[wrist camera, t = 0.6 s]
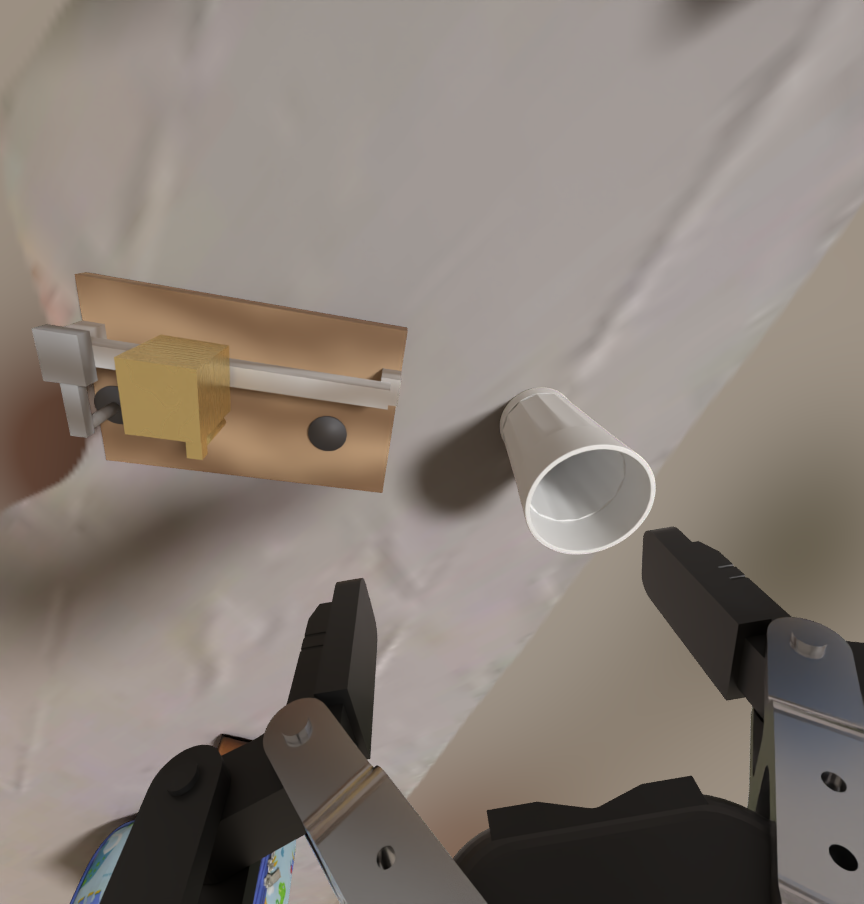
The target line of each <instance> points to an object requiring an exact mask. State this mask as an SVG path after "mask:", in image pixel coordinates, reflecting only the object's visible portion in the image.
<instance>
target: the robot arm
mask: <svg viewBox="0 0 864 904" xmlns="http://www.w3.org/2000/svg"><path fill="white" fill-rule="evenodd" d="M643 537H644V538H643V556H642V581H643V585H644V588H645V590H646V593H647V595H648V596H649V598H650V599H651V601H652V602H653V603H654V605H655V606H656V607H657V609H658V610H659V611H660V613H661V614H662V615H663V617H664V618H665V619H666V620H667V622H668V623H669V625H670V626H671V627H672V629H673V630H674V631H675V633H676V634H677V635H678V637H679V638H680V639H681V641H682V642H683V643H684V645H685V646H686V647H687V649H688V650H689V651H690V653H691V654H692V655H693V656H694V658H695V659H696V661H697V662H698V663H699V665H700V666H701V667H702V669H703V670H704V671H705V673H706V674H707V675H708V677H709V678H710V679H711V681H712V682H713V683H714V685H715V686H716V687H717V689H718V690H719V691H720V692H721V694H722V695H723V697H724V698H725V699H726V700H732V699H738V698H744V697H746V699H747V700H748V701H749V702H750V703H751V705H752V711H751V726H750V728H751V729H750V777H749V797H748V806H747V808H745V807H743V806H741V805H739V804H736V803H734V802H731V801H728V800H725V799H722V798H718V797H713V796H710V795H703V794H702V793H701V791H700V789H699V787H698V785H697V784H696V782H695V780H694V778H693V777H692V776H687V777H681V778H675V779H669V780H664V781H657V782H651V783H646V784H641V785H639V786H637V787H635V788H633V789H632V790H630V791H628V792H626V793H624V794H622V795H620V796H618V797H617V798H615V799H613V800H611V801H609V802H607V803H605V804H604V805H602V806H600V807H597V808H583V807H575V806H567V805H558V804H551V803H543V802H533V803H527V804H521V805H516V806H509V807H503V808H498V809H492V810H487V815H488V821H489V827H490V828H489V829H487V830H485V831H483V832H481V833H480V834H478V835H477V836H475V837H474V838H473V839H471V840H470V841H469V842H468V843H467V844H466V845H464V847H462V849H460V850H459V851H458V853H457V854H456V855H455V856H454V858H453V859H452V857H451V856H450V855H449V853H448V852H447V851H446V850H445V848H444V847H443V846H442V844H441V843H440V842H439V841H438V839H437V838H436V837H435V836H434V834H433V833H432V832H431V830H430V829H429V828H428V826H427V825H426V824H425V823H424V821H423V820H422V819H421V817H420V816H419V815H418V813H417V812H416V811H415V810H414V808H413V807H412V806H411V805H410V803H409V802H408V801H407V799H406V798H405V797H404V795H403V794H402V793H401V792H400V790H399V789H398V788H397V786H396V785H395V784H394V783H393V781H392V780H391V779H390V777H389V776H388V775H387V774H386V773H385V771H384V770H383V769H382V768H381V767H379V766H375V767H373V766H372V765H371V764H370V763H369V762H368V760H367V759H370V754H371V737H372V721H373V704H374V688H375V671H376V654H377V628H376V622H375V617H374V613H373V610H372V606H371V602H370V598H369V595H368V591H367V587H366V584H365V581H364V579H363V578H359V579H353V580H347V581H341V582H337V583H336V585H335V590H334V595H333V600H332V602H329V603H323V604H319V606H318V607H317V608H316V610H315V611H314V612H313V614H312V615H311V617H310V618H309V620H308V624H307V628H306V632H305V638H304V639H303V643H302V647H301V652H300V655H299V659H298V663H297V666H296V670H295V674H294V678H293V682H292V686H291V690H290V694H289V698H288V701H287V704H286V706H284V707H283V708H282V709H281V710H279V711H278V712H277V713H276V714H275V715H274V717H273V718H272V719H271V720H270V722H269V724H268V725H267V728H266V730H265V733H264V734H262V735H261V736H260V737H258V738H256V739H254V740H253V741H251V742H249V743H246V744H244V745H242V746H240V747H238V748H236V749H234V750H232V751H230V752H228V753H226V754H224V755H221V754H220V752H219V751H218V750H217V749H216V748H215V747H213V746H210V745H198V746H194V747H191V748H189V749H186V750H184V751H183V752H181V753H179V754H178V755H176V756H175V757H174V758H172V759H171V760H170V761H169V762H168V763H167V764H166V765H165V766H164V767H163V768H162V769H161V770H160V771H159V772H158V774H157V775H156V776H155V778H154V779H153V781H152V783H151V785H150V787H149V789H148V791H147V793H146V796H145V798H144V800H143V803H142V805H141V807H140V810H139V812H138V814H137V817H136V819H135V821H134V824H133V826H132V828H131V831H130V833H129V835H128V838H127V840H126V842H125V845H124V847H123V849H122V852H121V854H120V856H119V859H118V861H117V863H116V866H115V868H114V870H113V873H112V875H111V877H110V880H109V882H108V884H107V887H106V889H105V891H104V894H103V896H102V898H101V901H100V903H99V904H253V901H254V895H255V890H256V884H257V879H258V874H259V868H260V863H261V859H262V858H264V857H266V856H267V855H269V854H271V853H273V852H274V851H276V850H278V849H280V848H282V847H283V846H285V845H287V844H289V843H290V842H292V841H294V840H296V839H298V838H299V837H301V836H303V835H305V837H306V839H307V841H308V843H309V845H310V847H311V849H312V851H313V853H314V855H315V856H316V858H317V860H318V862H319V864H320V866H321V868H322V870H323V872H324V874H325V876H326V878H327V879H328V881H329V883H330V885H331V887H332V889H333V891H334V893H335V895H336V897H337V899H338V900H339V902H340V904H864V643H859V642H849V641H845V640H844V639H843V638H842V637H841V636H840V635H839V634H837V633H836V632H834V631H833V630H831V629H829V628H828V627H826V626H824V625H822V624H819V623H817V622H814V621H811V620H807V619H803V618H796V617H791V616H790V615H789V614H788V613H787V612H786V611H784V610H783V609H782V608H781V607H780V606H779V605H778V604H776V603H775V602H774V601H773V600H772V599H771V598H770V597H769V596H768V595H767V594H766V593H764V592H763V591H762V590H761V589H760V588H759V587H758V586H757V585H756V584H754V583H753V582H752V581H751V580H750V579H749V578H746V577H745V575H744V574H743V573H742V572H741V571H740V570H739V569H737V567H734V566H733V564H732V563H731V562H730V561H729V560H728V559H727V558H725V557H724V556H723V555H722V554H721V553H720V552H719V551H717V550H715V549H713V548H711V547H709V546H707V545H705V544H703V543H701V542H699V541H697V542H691V541H690V540H689V539H688V538H687V537H686V536H685V535H684V534H683V533H682V532H681V531H680V530H679V529H677V528H676V527H667V528H662V529H656V530H650V531H646V532H645V533H644V536H643Z"/></svg>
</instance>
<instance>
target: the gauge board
mask: <svg viewBox="0 0 864 904" xmlns="http://www.w3.org/2000/svg"><path fill="white" fill-rule="evenodd" d="M75 279H76V285H77V291H78V297H79V302H80V308H81V314H82V320H83V321H80V322H76V323H73V324H70V325H67V326H64V327H61V326H55V325H49V324H45V325H42V326H38V327H36V328H32V332H33V336H34V341H35V345H36V350H37V354H38V358H39V363H40V367H41V372H42V376H43V380H44V381H49V382H56V383H60V386H61V391H62V396H63V401H64V405H65V411H66V415H67V420H68V425H69V430H70V435H71V436H78V437H86V438H88V437H89V436H90V435H92V434H93V433H95V432H94V428H95V427H97V426H98V425H101V431H102V437H103V442H104V448H105V454H106V460H111V461H120V462H128V463H136V464H145V465H153V466H162V467H170V468H178V469H187V470H195V471H203V472H212V473H220V474H229V475H237V476H245V477H254V478H262V479H270V480H279V481H287V482H295V483H304V484H312V485H321V486H329V487H337V488H346V489H354V490H362V491H371V492H379V493H382V491H383V484H384V478H385V472H386V465H387V459H388V453H389V446H390V440H391V433H392V427H393V421H394V414H395V408H396V406H397V404H398V398H399V392H400V385H401V369H402V363H403V357H404V350H405V344H406V337H407V328H406V327H400V326H395V325H389V324H383V323H377V322H371V321H366V320H360V319H354V318H348V317H342V316H337V315H331V314H325V313H319V312H313V311H308V310H302V309H296V308H290V307H284V306H279V305H273V304H267V303H261V302H255V301H250V300H244V299H238V298H232V297H226V296H221V295H215V294H209V293H203V292H198V291H192V290H186V289H180V288H174V287H169V286H163V285H157V284H151V283H145V282H140V281H134V280H128V279H122V278H116V277H111V276H105V275H99V274H93V273H87V272H85V273H79V274H75ZM159 335H167V336H173V337H180V338H186V339H192V340H199V341H205V342H211V343H217V344H224V345H229V360H230V401H231V410H230V412H229V413H228V414H227V415H226V416H225V417H224V419H225V420H226V424H225V426H224V427H223V428H222V429H221V430H220V432H219V433H218V434H217V435H216V436H215V437H214V439H213V440H212V441H211V442H210V443H209V444H208V446H207V450H208V454H207V455H206V457H205V458H204V459H203V460H198V459H190V458H187V454H186V442H183V441H175V440H167V439H159V438H151V437H144V436H136V435H128V434H125V431H124V424H123V417H122V410H121V403H120V397H119V390H118V383H117V376H116V369H115V362H114V357H115V356H117V355H119V354H121V353H123V352H125V351H128V350H130V349H132V348H134V347H136V346H138V345H140V344H142V343H144V342H146V341H148V340H150V339H152V338H154V337H157V336H159ZM92 383H93V384H94V390H95V398H94V403H95V406H96V409H97V410H98V411H96V412H95V413H93V414H92V415H91V410H90V404H89V399H88V393H87V386H89V385H90V384H92Z"/></svg>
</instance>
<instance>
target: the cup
mask: <svg viewBox="0 0 864 904" xmlns="http://www.w3.org/2000/svg"><path fill="white" fill-rule="evenodd" d="M500 434H501V437H502V439H503V441H504V444H505V446H506V449H507V453H508V456H509V460H510V463H511V467H512V470H513V474H514V477H515V480H516V484H517V487H518V492H519V496H520V500H521V504H522V508H523V511H524V515H525V519H526V523H527V526H528V528H529V530H530V532H531V533H532V535H533V536H534V537H535V538H536V539H537V540H538V541H539V542H540V543H541V544H543V545H544V546H546V547H548V548H550V549H552V550H554V551H557V552H561V553H566V554H588V553H593V552H598V551H601V550H604V549H606V548H609V547H611V546H613V545H615V544H617V543H619V542H621V541H622V540H624V539H625V538H627V537H628V536H629V535H631V534H632V533H633V532H634V531H635V530H636V529H637V528H638V527H639V526H640V525H641V524H642V522H643V521H644V520H645V518H646V517H647V515H648V513H649V511H650V509H651V507H652V504H653V502H654V498H655V479H654V475H653V472H652V470H651V468H650V467H649V465H648V464H647V462H646V461H645V460H644V459H643V458H642V457H641V456H640V455H638V454H637V453H636V452H634V451H633V450H632V449H630V448H629V447H628V446H626V445H625V444H624V443H622V442H621V441H620V440H618V439H617V438H616V437H614V436H613V435H612V434H611V433H609V432H608V431H607V430H605V429H604V428H603V427H602V426H600V425H599V424H598V423H597V422H595V421H594V420H593V419H592V418H590V417H589V416H588V415H587V414H585V413H584V412H583V411H581V410H580V409H579V408H578V407H576V406H575V405H574V404H573V403H571V402H570V401H569V400H568V399H567V398H566V397H565V396H564V395H563V394H562V393H560V392H559V391H557V390H554V389H551V388H545V387H538V388H532V389H529V390H526V391H524V392H522V393H520V394H518V395H517V396H515V397H514V398H513V399H512V400H511V401H510V402H509V403H508V404H507V406H506V407H505V409H504V411H503V413H502V415H501V419H500Z"/></svg>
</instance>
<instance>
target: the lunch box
mask: <svg viewBox="0 0 864 904" xmlns="http://www.w3.org/2000/svg"><path fill="white" fill-rule="evenodd" d="M134 821H135V820H133V821H130V822H127V823H125V824H123V825H121V826H120V827H118V828H117V829H115V830H114V831H113V832H112V833H111V834H110V835H109V836H108V837H107V838H106V839H105V840H104V841H103V843H102V844H101V845H100V846H99V848H98V849H97V851H96V852H95V854H94V855H93V857H92V858H91V860H90V862H89V864H88V866H87V867H86V869H85V871H84V874H83V876H82V878H81V880H80V882H79V884H78V886H77V889H76V891H75V893H74V895H73V897H72V900H71V902H70V904H99V903H100V901H101V898H102V896H103V894H104V891H105V889H106V887H107V884H108V882H109V880H110V877H111V875H112V873H113V870H114V868H115V866H116V863H117V861H118V859H119V856H120V854H121V852H122V849H123V847H124V845H125V842H126V840H127V838H128V835H129V833H130V831H131V828H132V826H133V824H134ZM295 847H296V840H294V841H292V842H290V843H289V844H287V845H285V846H283V847H282V848H280V849H278V850H276V851H274V852H273V853H271V854H269V855H267V856H266V857H264V858H262V859H261V863H260V868H259V874H258V879H257V884H256V890H255V895H254V901H253V904H288V900H289V892H290V885H291V877H292V870H293V863H294V856H295Z"/></svg>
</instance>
